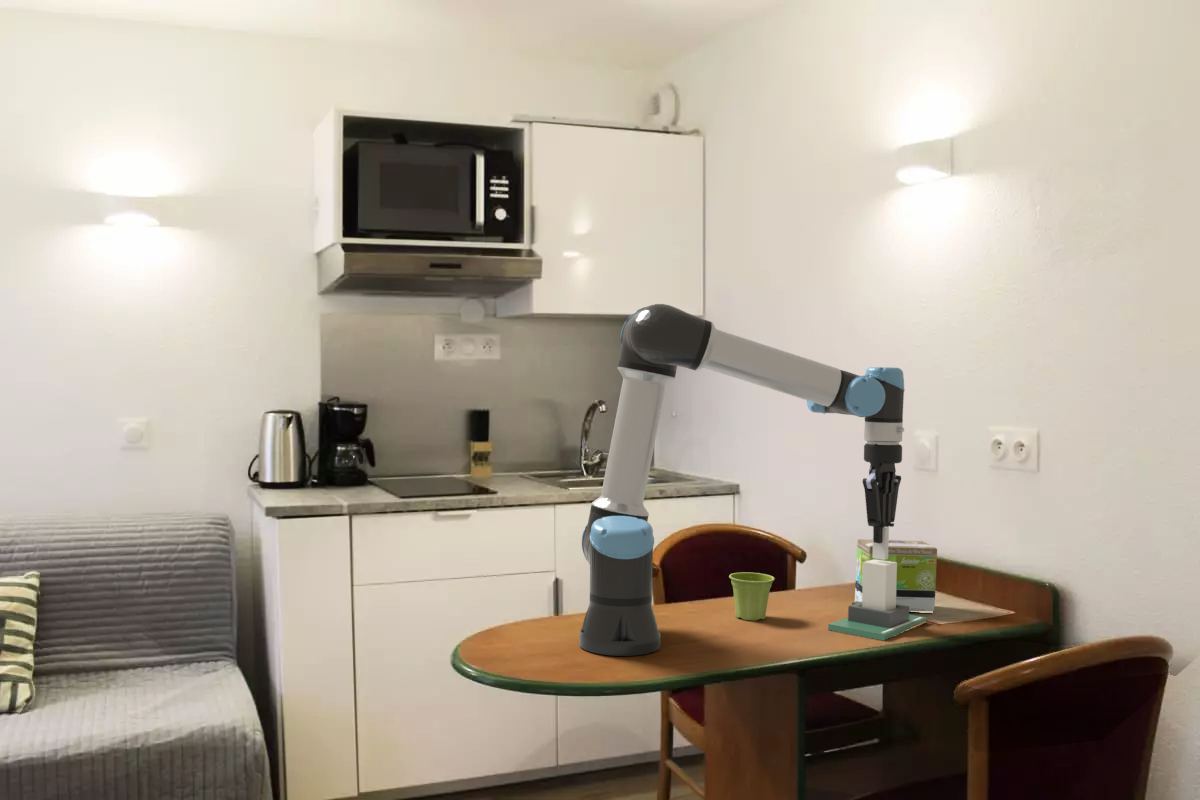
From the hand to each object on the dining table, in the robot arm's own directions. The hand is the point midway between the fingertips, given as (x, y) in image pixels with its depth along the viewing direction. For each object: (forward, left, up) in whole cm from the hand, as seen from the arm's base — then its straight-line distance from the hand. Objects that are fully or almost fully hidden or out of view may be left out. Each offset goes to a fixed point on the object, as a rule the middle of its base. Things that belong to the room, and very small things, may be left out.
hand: (880, 558), depth 214 cm
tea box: (+18, +5, -14) cm, 24 cm away
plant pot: (-12, +23, -14) cm, 30 cm away
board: (0, 0, -14) cm, 14 cm away
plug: (0, 0, -13) cm, 13 cm away
